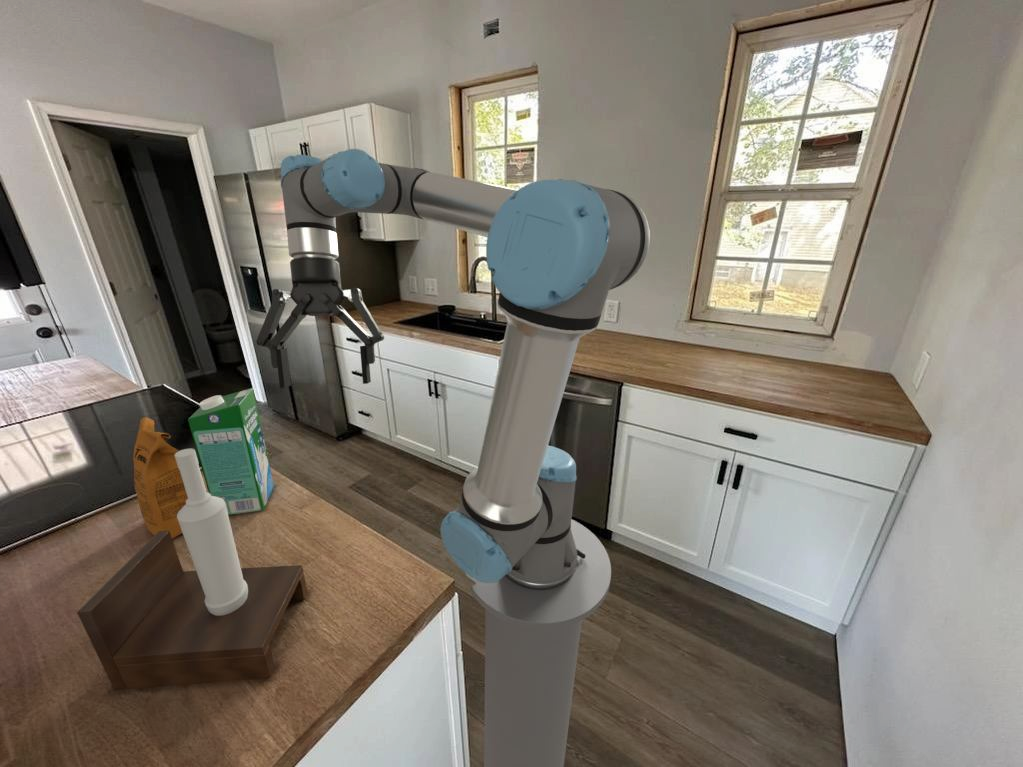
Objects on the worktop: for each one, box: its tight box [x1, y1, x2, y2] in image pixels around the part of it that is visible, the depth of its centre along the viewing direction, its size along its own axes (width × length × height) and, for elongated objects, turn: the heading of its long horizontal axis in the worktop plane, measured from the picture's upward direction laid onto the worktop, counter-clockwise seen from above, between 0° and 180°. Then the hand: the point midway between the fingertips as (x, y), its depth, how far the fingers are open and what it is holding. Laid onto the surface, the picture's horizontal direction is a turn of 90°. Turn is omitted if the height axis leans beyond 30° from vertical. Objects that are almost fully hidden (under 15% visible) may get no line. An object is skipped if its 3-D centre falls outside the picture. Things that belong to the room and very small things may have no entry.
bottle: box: [175, 448, 248, 616], centre depth 55 cm, size 5×5×25 cm
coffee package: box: [133, 416, 188, 540], centre depth 80 cm, size 10×12×22 cm
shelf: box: [76, 531, 308, 691], centre depth 59 cm, size 20×14×14 cm
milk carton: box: [187, 387, 275, 516], centre depth 86 cm, size 9×9×25 cm
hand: (326, 385), depth 72 cm, fingers open, 13 cm apart
